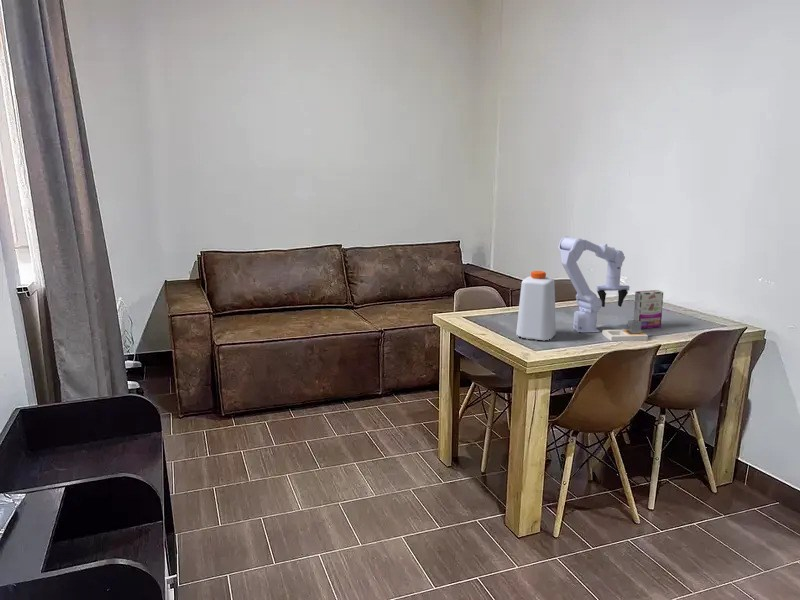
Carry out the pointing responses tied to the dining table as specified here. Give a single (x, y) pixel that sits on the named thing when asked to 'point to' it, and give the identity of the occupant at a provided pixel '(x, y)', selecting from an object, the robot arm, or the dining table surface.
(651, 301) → the candy bar box
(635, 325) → the steel block
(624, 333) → the shallow wooden tray
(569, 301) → the dining table surface
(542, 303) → the plastic bottle
